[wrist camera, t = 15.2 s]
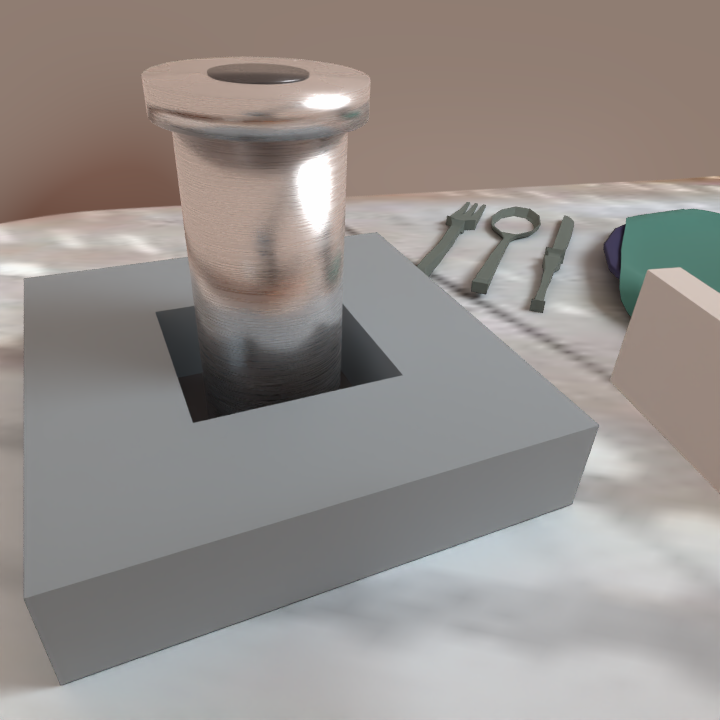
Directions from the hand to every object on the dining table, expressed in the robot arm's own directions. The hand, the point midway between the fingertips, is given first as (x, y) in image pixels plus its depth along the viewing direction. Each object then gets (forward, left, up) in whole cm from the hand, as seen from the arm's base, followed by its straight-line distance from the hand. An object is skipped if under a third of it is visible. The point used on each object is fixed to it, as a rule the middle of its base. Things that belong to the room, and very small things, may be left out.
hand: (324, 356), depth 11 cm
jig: (-2, -9, -9) cm, 13 cm away
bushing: (-2, -9, -9) cm, 13 cm away
